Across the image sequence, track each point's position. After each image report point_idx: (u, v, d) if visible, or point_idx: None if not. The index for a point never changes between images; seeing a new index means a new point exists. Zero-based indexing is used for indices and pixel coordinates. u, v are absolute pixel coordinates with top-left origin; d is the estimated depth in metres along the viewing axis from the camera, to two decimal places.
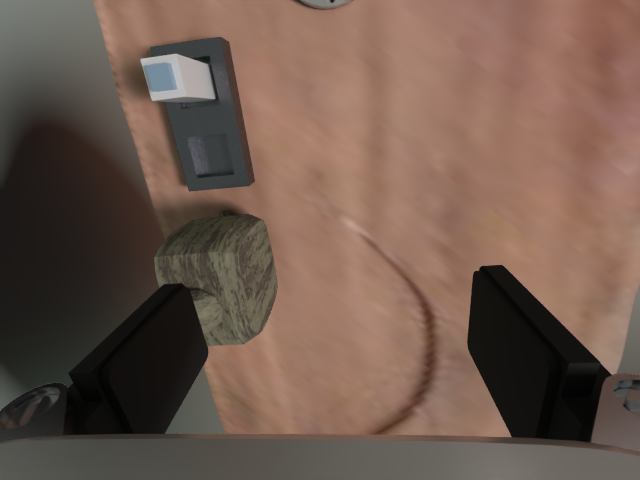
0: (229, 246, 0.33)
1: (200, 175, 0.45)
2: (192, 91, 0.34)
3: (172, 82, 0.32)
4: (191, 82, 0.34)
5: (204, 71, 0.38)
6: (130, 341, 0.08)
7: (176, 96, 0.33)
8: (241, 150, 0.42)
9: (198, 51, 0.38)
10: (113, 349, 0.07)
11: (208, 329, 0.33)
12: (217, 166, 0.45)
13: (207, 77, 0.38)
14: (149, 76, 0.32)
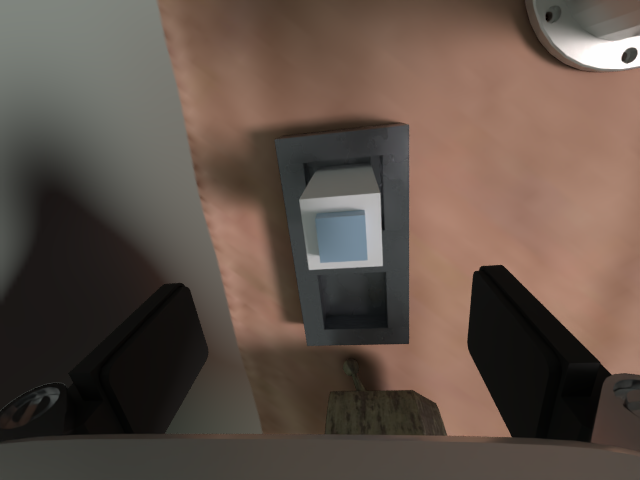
0: None
1: (325, 320, 0.28)
2: None
3: (366, 248, 0.15)
4: None
5: None
6: (130, 341, 0.08)
7: (361, 265, 0.17)
8: (407, 296, 0.25)
9: (363, 148, 0.21)
10: (113, 349, 0.07)
11: None
12: (351, 305, 0.28)
13: None
14: (320, 237, 0.15)
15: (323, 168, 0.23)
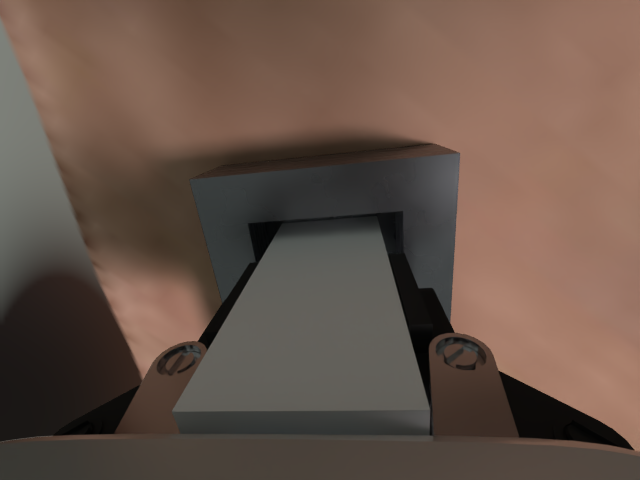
0: None
1: None
2: None
3: None
4: None
5: None
6: None
7: None
8: None
9: (364, 197, 0.10)
10: None
11: None
12: None
13: None
14: None
15: (291, 228, 0.13)
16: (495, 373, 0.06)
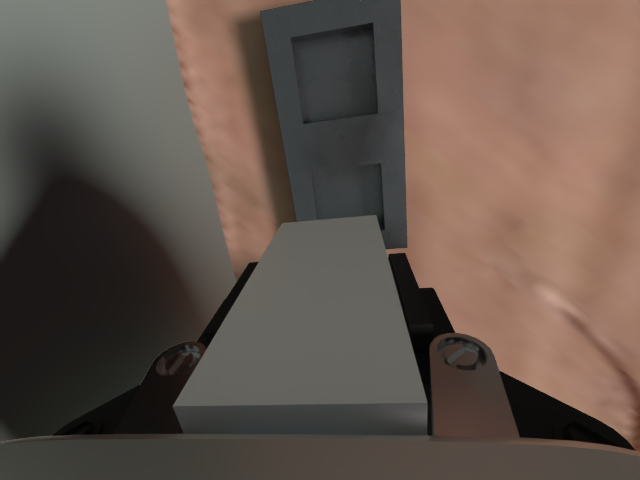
0: None
1: None
2: None
3: None
4: None
5: None
6: None
7: None
8: (404, 191, 0.24)
9: (352, 15, 0.20)
10: None
11: None
12: (347, 213, 0.27)
13: None
14: None
15: (291, 227, 0.13)
16: (495, 373, 0.06)
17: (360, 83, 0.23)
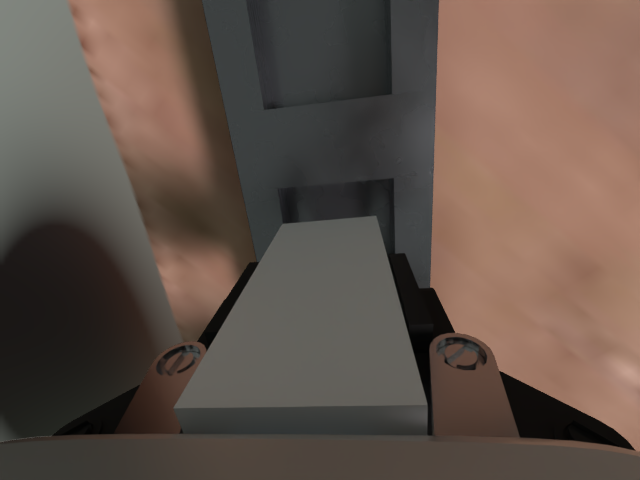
0: None
1: None
2: None
3: None
4: None
5: None
6: None
7: None
8: (429, 224, 0.15)
9: None
10: None
11: None
12: None
13: None
14: None
15: (291, 228, 0.13)
16: (496, 373, 0.06)
17: (361, 44, 0.14)
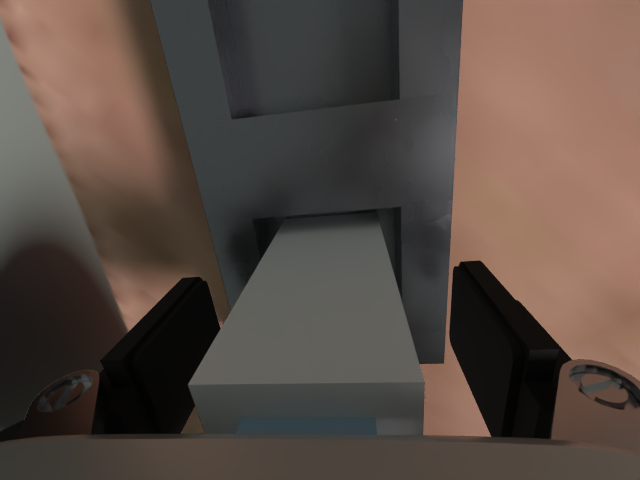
0: None
1: None
2: None
3: None
4: None
5: None
6: (155, 331, 0.08)
7: None
8: (445, 263, 0.12)
9: None
10: (141, 337, 0.07)
11: None
12: None
13: None
14: None
15: (293, 223, 0.13)
16: None
17: (359, 35, 0.11)
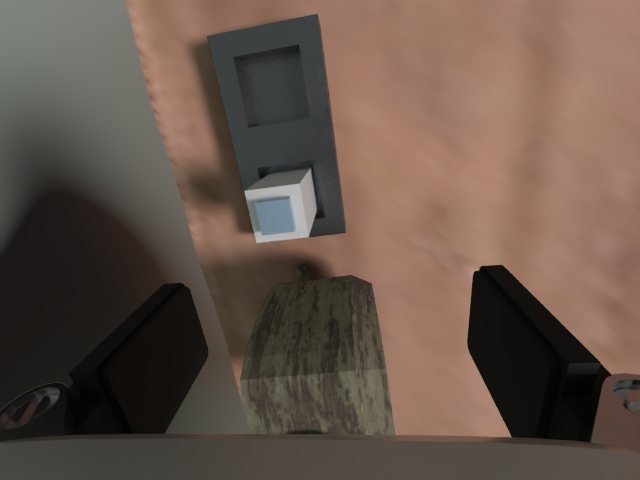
0: (368, 356, 0.19)
1: None
2: (309, 222, 0.24)
3: (293, 223, 0.22)
4: (308, 210, 0.24)
5: (310, 181, 0.28)
6: (130, 341, 0.08)
7: (293, 237, 0.23)
8: (337, 183, 0.28)
9: (282, 38, 0.25)
10: (113, 349, 0.07)
11: None
12: None
13: (312, 186, 0.28)
14: (259, 216, 0.22)
15: (275, 172, 0.30)
16: None
17: (296, 93, 0.28)
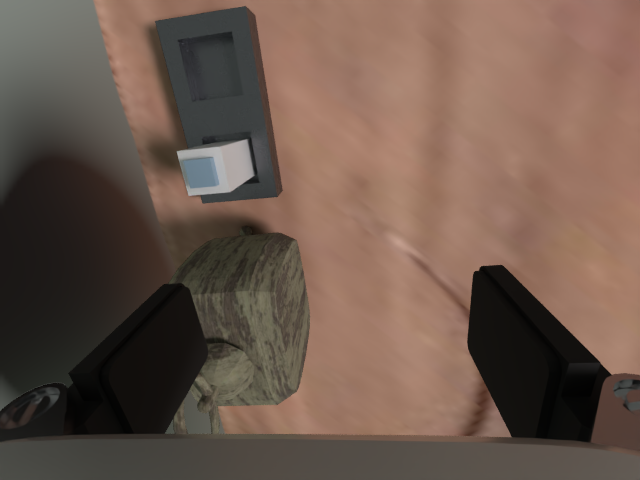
0: (262, 282, 0.25)
1: None
2: (234, 182, 0.29)
3: (214, 179, 0.27)
4: (234, 171, 0.29)
5: (244, 149, 0.33)
6: (130, 341, 0.08)
7: (217, 191, 0.28)
8: (269, 153, 0.33)
9: (217, 26, 0.29)
10: (114, 349, 0.07)
11: (235, 395, 0.24)
12: None
13: (247, 155, 0.33)
14: (187, 172, 0.27)
15: None
16: None
17: (235, 74, 0.32)
